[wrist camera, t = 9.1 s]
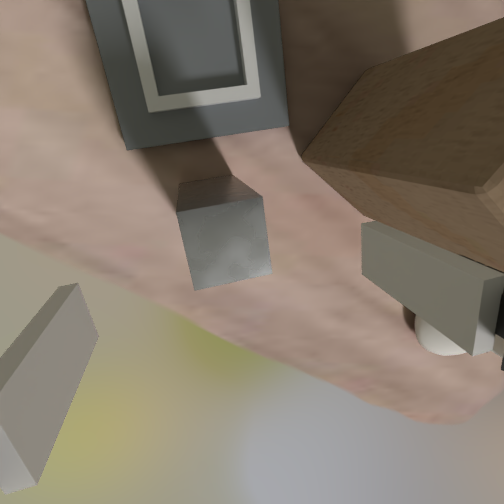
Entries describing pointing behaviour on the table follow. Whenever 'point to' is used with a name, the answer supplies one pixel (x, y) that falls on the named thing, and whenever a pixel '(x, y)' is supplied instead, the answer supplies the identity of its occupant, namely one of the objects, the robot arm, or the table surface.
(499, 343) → the flower in vase
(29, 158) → the table surface
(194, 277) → the steel billet
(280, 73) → the plate
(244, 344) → the table surface
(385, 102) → the wooden block
